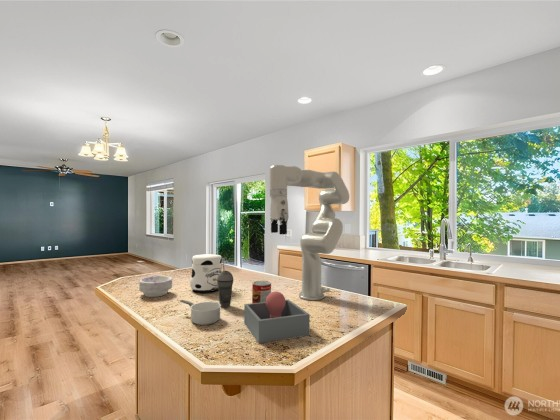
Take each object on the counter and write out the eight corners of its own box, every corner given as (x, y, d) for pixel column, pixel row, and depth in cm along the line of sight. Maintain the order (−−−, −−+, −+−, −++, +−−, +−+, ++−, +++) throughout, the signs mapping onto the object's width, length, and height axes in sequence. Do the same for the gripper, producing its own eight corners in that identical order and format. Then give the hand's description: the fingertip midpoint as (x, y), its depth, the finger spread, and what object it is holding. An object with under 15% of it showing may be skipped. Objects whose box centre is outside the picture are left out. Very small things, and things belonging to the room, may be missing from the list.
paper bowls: (160, 299, 134) (161, 283, 135) (131, 297, 137) (132, 281, 137) (177, 291, 149) (178, 276, 150) (151, 289, 152) (151, 274, 152)
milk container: (219, 294, 145) (219, 258, 145) (185, 294, 145) (185, 258, 145) (225, 285, 162) (226, 254, 162) (195, 285, 162) (196, 253, 162)
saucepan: (192, 309, 121) (192, 296, 121) (227, 319, 111) (227, 304, 111) (168, 317, 112) (169, 303, 112) (204, 329, 101) (205, 313, 101)
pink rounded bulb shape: (288, 323, 104) (288, 290, 104) (280, 330, 97) (280, 295, 98) (270, 320, 107) (271, 288, 107) (261, 327, 100) (262, 292, 101)
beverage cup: (229, 309, 122) (230, 262, 122) (213, 308, 123) (214, 261, 124) (235, 304, 129) (236, 259, 129) (220, 303, 130) (221, 259, 131)
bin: (288, 317, 113) (288, 299, 113) (309, 335, 97) (309, 314, 97) (244, 323, 107) (244, 304, 107) (258, 343, 90) (258, 321, 90)
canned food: (262, 307, 125) (262, 279, 125) (274, 311, 120) (275, 283, 120) (248, 311, 120) (248, 282, 120) (260, 316, 114) (260, 286, 114)
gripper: (294, 193, 117) (295, 234, 117) (278, 195, 133) (279, 231, 133) (278, 192, 115) (278, 235, 115) (263, 194, 130) (263, 232, 130)
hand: (278, 233), depth 124 cm, fingers open, 9 cm apart
